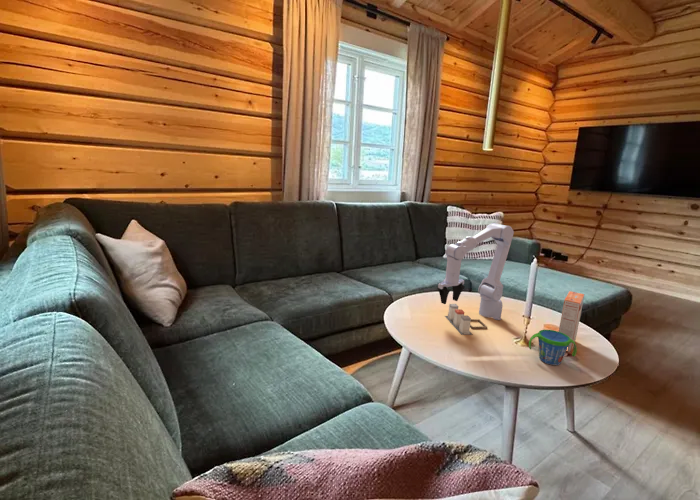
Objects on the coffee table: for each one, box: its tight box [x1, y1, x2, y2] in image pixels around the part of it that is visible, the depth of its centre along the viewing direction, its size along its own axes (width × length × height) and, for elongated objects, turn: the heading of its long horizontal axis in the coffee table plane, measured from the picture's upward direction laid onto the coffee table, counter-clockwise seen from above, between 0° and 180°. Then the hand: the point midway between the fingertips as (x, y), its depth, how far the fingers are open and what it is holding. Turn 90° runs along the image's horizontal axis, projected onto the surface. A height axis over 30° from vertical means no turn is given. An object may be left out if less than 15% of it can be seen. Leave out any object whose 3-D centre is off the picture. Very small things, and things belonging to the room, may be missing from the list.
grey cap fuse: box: [447, 303, 459, 320], centre depth 170 cm, size 3×3×6 cm
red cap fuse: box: [453, 308, 465, 326], centre depth 164 cm, size 3×3×6 cm
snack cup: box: [528, 329, 578, 366], centre depth 140 cm, size 16×10×10 cm
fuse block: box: [444, 315, 473, 336], centre depth 165 cm, size 5×19×2 cm, turn 7°
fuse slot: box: [459, 315, 472, 333], centre depth 158 cm, size 3×3×6 cm
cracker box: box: [558, 290, 585, 354], centre depth 152 cm, size 14×6×21 cm, turn 144°
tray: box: [470, 318, 488, 330], centre depth 166 cm, size 7×8×2 cm
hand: (449, 301), depth 166 cm, fingers open, 7 cm apart
